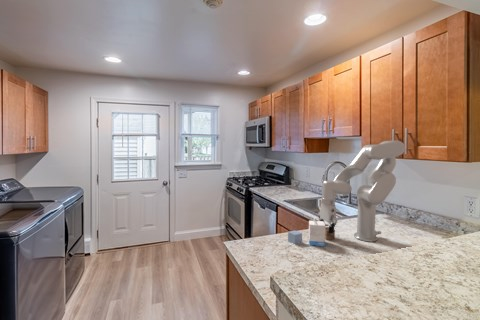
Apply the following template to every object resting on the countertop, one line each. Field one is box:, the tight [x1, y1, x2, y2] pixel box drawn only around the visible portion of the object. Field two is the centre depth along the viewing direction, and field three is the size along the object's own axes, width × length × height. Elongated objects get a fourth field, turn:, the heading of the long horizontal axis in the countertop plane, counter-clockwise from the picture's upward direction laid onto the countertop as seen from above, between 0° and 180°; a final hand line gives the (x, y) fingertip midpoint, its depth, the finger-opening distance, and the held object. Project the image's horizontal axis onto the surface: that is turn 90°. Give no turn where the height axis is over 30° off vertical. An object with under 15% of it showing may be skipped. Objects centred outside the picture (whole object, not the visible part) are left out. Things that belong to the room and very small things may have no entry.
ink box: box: [308, 217, 326, 247], centre depth 140 cm, size 9×8×13 cm
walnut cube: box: [325, 226, 336, 241], centre depth 148 cm, size 6×6×6 cm
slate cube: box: [287, 229, 303, 245], centre depth 142 cm, size 6×6×6 cm
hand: (326, 230), depth 148 cm, fingers open, 9 cm apart
